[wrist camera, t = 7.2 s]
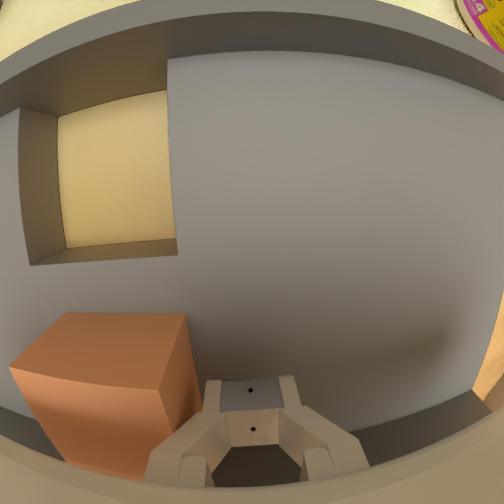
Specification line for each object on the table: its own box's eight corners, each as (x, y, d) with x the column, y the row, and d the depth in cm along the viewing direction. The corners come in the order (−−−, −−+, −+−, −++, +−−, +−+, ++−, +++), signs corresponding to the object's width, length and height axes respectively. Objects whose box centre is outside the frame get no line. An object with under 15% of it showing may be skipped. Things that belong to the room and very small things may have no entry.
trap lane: (466, 93, 10) (535, 76, 5) (443, 376, 15) (486, 424, 9) (-74, 174, 9) (-118, 182, 4) (-27, 375, 14) (-57, 406, 8)
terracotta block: (185, 313, 9) (158, 389, 6) (204, 415, 11) (196, 491, 7) (66, 312, 9) (8, 366, 5) (101, 406, 10) (71, 468, 7)
